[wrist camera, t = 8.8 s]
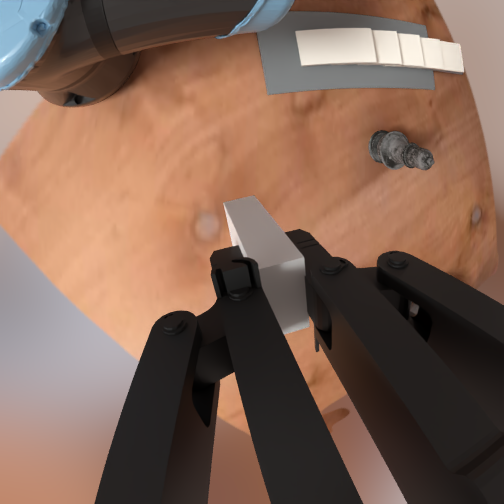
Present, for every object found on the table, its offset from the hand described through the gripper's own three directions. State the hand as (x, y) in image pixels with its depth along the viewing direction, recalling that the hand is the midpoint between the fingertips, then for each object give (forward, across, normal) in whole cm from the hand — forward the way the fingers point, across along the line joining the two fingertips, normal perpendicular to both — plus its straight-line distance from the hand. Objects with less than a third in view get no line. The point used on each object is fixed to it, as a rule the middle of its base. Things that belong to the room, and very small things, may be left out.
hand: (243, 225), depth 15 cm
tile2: (+25, +19, +12) cm, 34 cm away
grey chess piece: (+27, +27, -3) cm, 38 cm away
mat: (+26, +24, +12) cm, 38 cm away
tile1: (+25, +14, +12) cm, 32 cm away
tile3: (+25, +23, +12) cm, 36 cm away
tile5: (+25, +33, +12) cm, 43 cm away
